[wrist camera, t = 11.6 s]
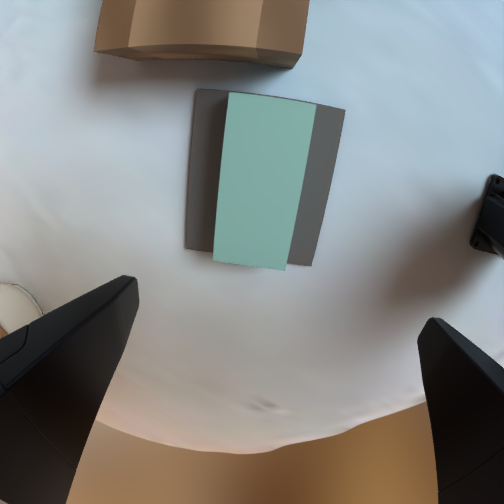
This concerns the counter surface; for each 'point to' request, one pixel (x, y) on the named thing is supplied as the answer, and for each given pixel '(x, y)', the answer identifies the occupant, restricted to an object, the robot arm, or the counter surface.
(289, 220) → the teal slab
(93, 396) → the robot arm
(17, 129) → the counter surface
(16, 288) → the lidded jar
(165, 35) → the pocket board
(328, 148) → the rubber mat
